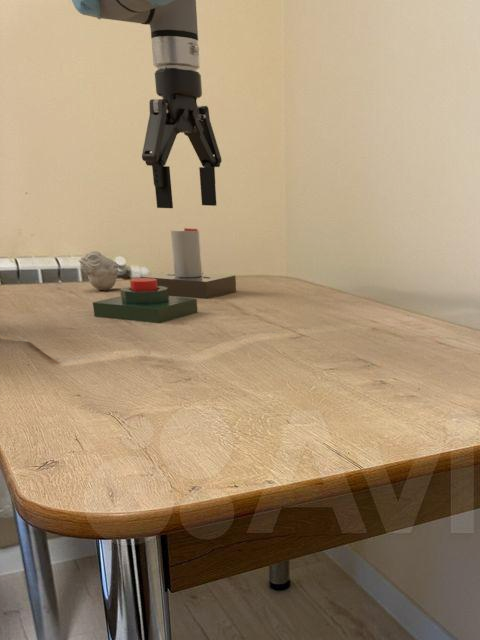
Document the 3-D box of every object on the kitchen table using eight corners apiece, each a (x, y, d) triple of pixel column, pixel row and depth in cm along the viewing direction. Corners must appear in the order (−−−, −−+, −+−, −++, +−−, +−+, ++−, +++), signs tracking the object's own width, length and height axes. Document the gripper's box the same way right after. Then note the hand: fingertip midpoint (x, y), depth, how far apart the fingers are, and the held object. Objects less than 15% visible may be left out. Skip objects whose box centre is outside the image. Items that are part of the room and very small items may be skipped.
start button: (125, 292, 108) (124, 280, 108) (142, 288, 112) (141, 277, 111) (147, 294, 107) (146, 282, 106) (163, 290, 110) (162, 279, 110)
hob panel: (142, 293, 130) (140, 275, 129) (174, 286, 138) (172, 269, 137) (207, 299, 125) (205, 280, 124) (236, 291, 134) (235, 274, 133)
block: (94, 316, 108) (90, 290, 107) (136, 306, 117) (133, 282, 115) (159, 323, 104) (156, 295, 103) (197, 312, 113) (195, 287, 111)
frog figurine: (78, 289, 133) (73, 250, 130) (115, 286, 137) (111, 249, 134) (88, 293, 129) (83, 253, 126) (126, 290, 133) (122, 252, 130)
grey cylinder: (169, 276, 129) (164, 228, 126) (184, 273, 134) (181, 226, 130) (192, 278, 128) (188, 229, 124) (207, 275, 132) (204, 228, 129)
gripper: (149, 58, 106) (163, 209, 114) (236, 78, 127) (242, 205, 135) (108, 60, 108) (125, 208, 117) (200, 79, 129) (208, 203, 138)
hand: (188, 206), depth 126 cm, fingers open, 13 cm apart
